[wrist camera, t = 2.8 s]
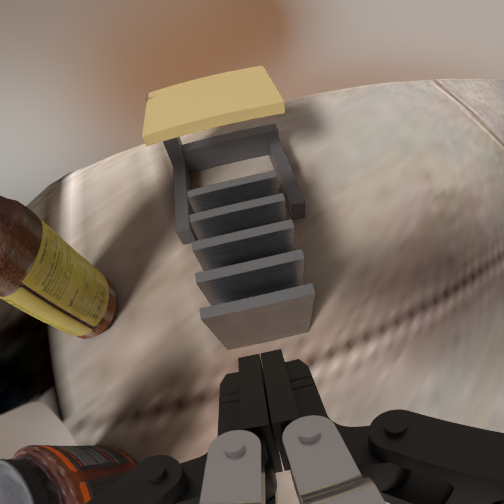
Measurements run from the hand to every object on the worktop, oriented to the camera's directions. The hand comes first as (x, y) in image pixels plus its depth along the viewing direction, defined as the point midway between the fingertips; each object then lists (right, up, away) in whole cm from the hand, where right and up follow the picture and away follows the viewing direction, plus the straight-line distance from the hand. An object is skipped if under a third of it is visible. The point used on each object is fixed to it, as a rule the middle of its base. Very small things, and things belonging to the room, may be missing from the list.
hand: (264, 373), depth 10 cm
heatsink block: (0, +2, +14) cm, 14 cm away
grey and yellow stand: (-2, +10, +19) cm, 21 cm away
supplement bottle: (-11, -13, +7) cm, 19 cm away
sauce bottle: (-15, -1, +14) cm, 21 cm away
